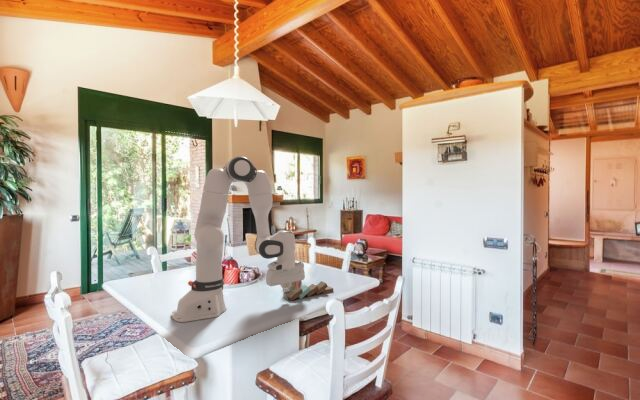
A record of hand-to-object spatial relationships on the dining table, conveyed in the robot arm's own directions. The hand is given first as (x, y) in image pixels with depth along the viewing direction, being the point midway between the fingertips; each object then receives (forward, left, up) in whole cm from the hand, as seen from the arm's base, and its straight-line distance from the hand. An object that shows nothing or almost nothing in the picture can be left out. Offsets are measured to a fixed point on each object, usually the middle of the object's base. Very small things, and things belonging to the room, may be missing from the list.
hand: (286, 291), depth 158 cm
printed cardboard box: (+15, +18, -5) cm, 24 cm away
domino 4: (+21, 0, -4) cm, 21 cm away
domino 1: (+2, 0, -3) cm, 4 cm away
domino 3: (+17, 0, -3) cm, 18 cm away
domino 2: (+11, 0, -3) cm, 12 cm away
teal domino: (+7, 0, -3) cm, 7 cm away
